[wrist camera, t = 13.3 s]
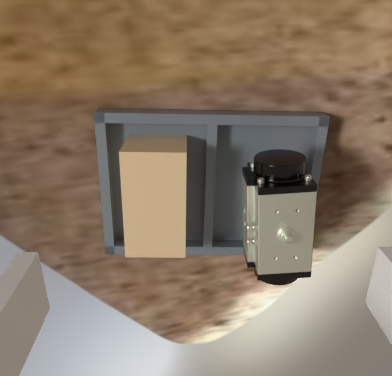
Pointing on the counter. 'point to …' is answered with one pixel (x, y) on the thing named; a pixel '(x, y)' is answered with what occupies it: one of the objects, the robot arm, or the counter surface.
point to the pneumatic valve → (278, 216)
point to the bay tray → (189, 174)
